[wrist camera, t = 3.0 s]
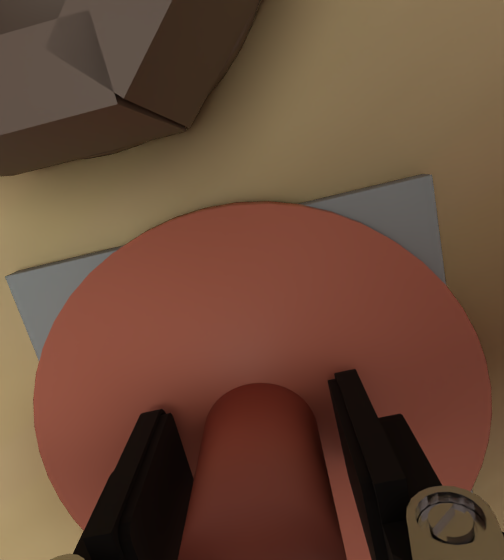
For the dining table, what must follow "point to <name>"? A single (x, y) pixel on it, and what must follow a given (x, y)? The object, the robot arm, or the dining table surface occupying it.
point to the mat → (355, 204)
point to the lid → (258, 372)
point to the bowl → (108, 73)
